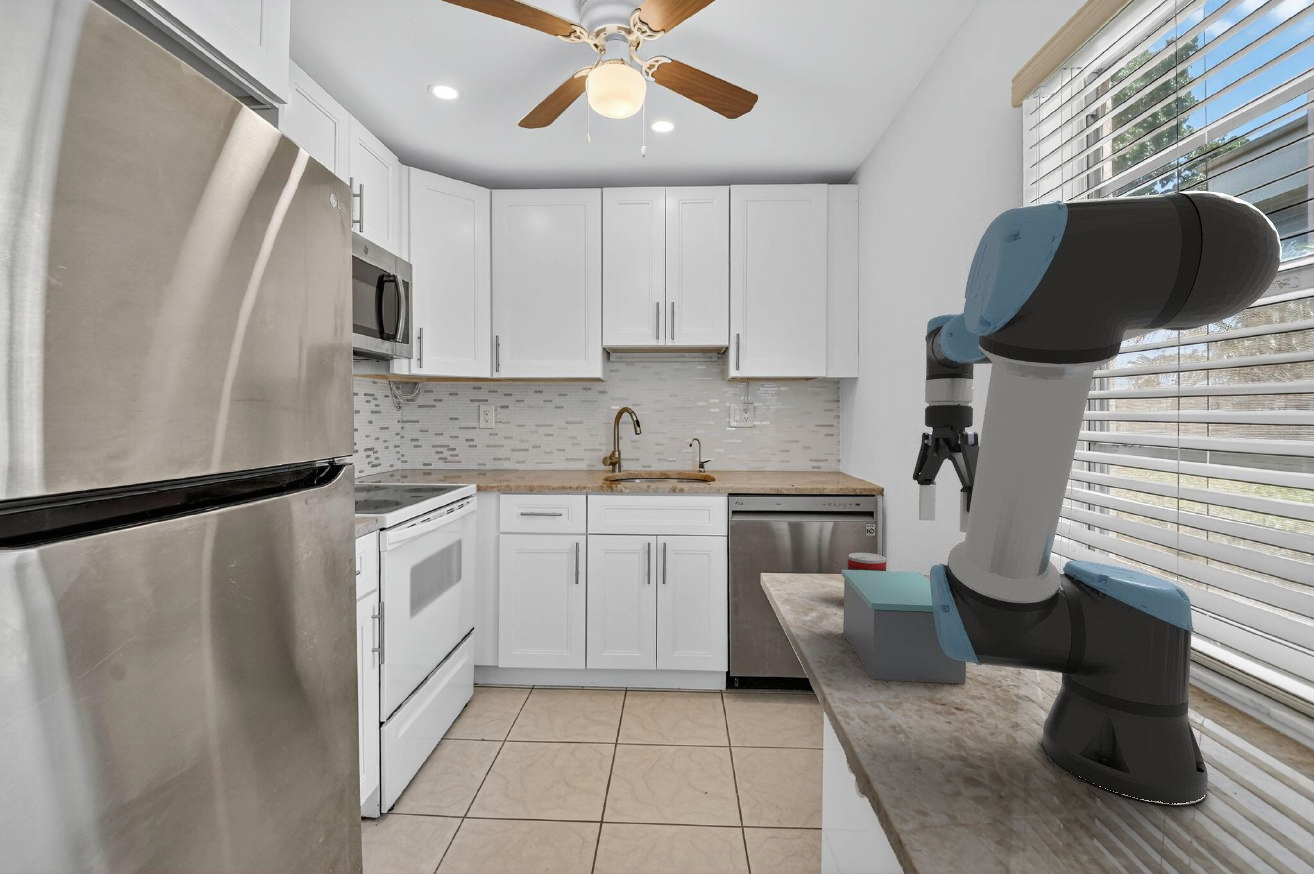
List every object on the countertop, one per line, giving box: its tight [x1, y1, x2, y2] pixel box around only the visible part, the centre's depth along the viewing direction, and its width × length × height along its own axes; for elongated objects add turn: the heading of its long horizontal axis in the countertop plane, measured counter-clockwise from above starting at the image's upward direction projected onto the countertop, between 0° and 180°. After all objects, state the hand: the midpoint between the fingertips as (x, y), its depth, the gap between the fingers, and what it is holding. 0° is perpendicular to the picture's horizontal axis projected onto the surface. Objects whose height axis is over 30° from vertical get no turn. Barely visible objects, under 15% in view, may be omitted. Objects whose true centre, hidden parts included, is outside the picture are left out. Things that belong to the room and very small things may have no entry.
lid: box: [840, 569, 933, 612], centre depth 99 cm, size 21×20×8 cm
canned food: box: [847, 552, 887, 571], centre depth 127 cm, size 8×8×11 cm
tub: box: [842, 577, 967, 685], centre depth 99 cm, size 20×14×11 cm
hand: (946, 525), depth 100 cm, fingers open, 13 cm apart
